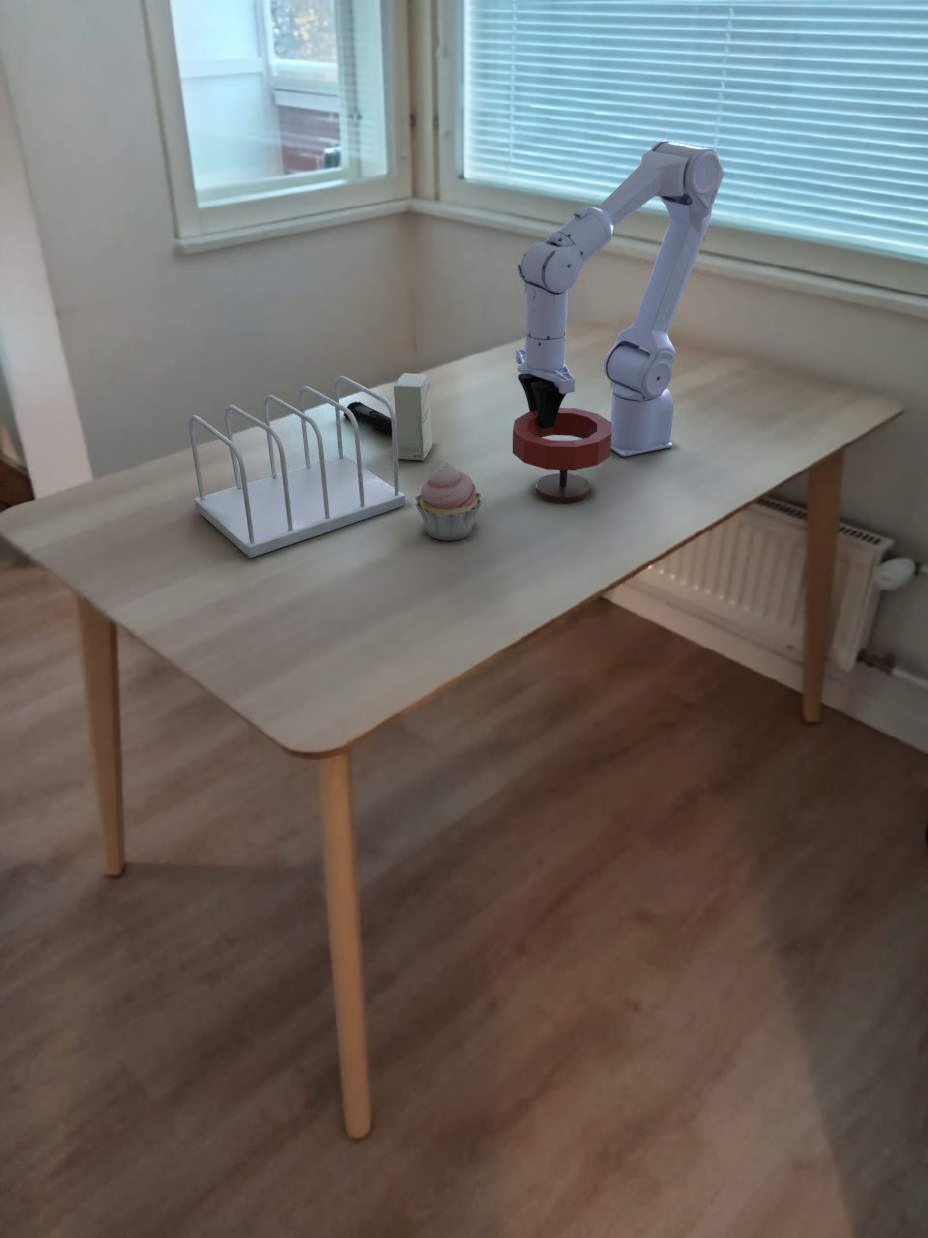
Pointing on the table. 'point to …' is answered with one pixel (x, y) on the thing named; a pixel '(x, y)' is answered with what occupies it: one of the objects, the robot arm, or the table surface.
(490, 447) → the table surface
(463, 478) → the cupcake
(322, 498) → the file sorter
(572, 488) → the peg stand
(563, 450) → the ring
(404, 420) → the cosmetic box
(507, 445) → the table surface
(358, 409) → the electric trimmer
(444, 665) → the table surface
